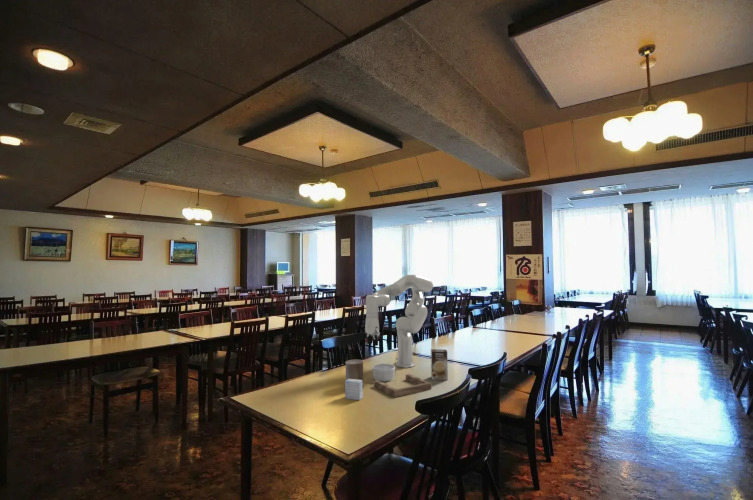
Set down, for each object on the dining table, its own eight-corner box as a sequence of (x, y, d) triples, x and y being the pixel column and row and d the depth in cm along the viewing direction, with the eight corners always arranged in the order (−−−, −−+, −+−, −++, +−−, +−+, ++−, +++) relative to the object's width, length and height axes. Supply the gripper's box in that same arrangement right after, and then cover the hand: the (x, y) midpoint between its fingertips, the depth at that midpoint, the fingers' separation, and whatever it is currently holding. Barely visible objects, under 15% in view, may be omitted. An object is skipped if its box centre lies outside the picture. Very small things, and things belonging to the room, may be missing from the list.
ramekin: (388, 383, 199) (387, 371, 199) (368, 380, 206) (368, 368, 206) (399, 377, 210) (399, 365, 210) (380, 374, 217) (380, 362, 217)
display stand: (374, 386, 195) (374, 380, 195) (408, 379, 206) (408, 373, 207) (395, 397, 177) (395, 391, 177) (431, 388, 189) (431, 383, 189)
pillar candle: (367, 386, 194) (366, 358, 195) (354, 391, 187) (353, 362, 188) (355, 383, 201) (354, 356, 202) (341, 387, 194) (341, 359, 195)
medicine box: (363, 397, 178) (362, 379, 178) (359, 400, 174) (359, 382, 174) (348, 395, 180) (348, 378, 181) (344, 399, 176) (344, 381, 177)
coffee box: (431, 380, 204) (431, 351, 205) (431, 376, 210) (430, 349, 211) (448, 380, 203) (447, 351, 204) (447, 376, 209) (446, 349, 210)
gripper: (360, 314, 226) (360, 342, 225) (374, 317, 211) (374, 347, 210) (370, 313, 230) (371, 341, 229) (384, 316, 215) (385, 346, 214)
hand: (372, 344), depth 219 cm, fingers open, 6 cm apart
